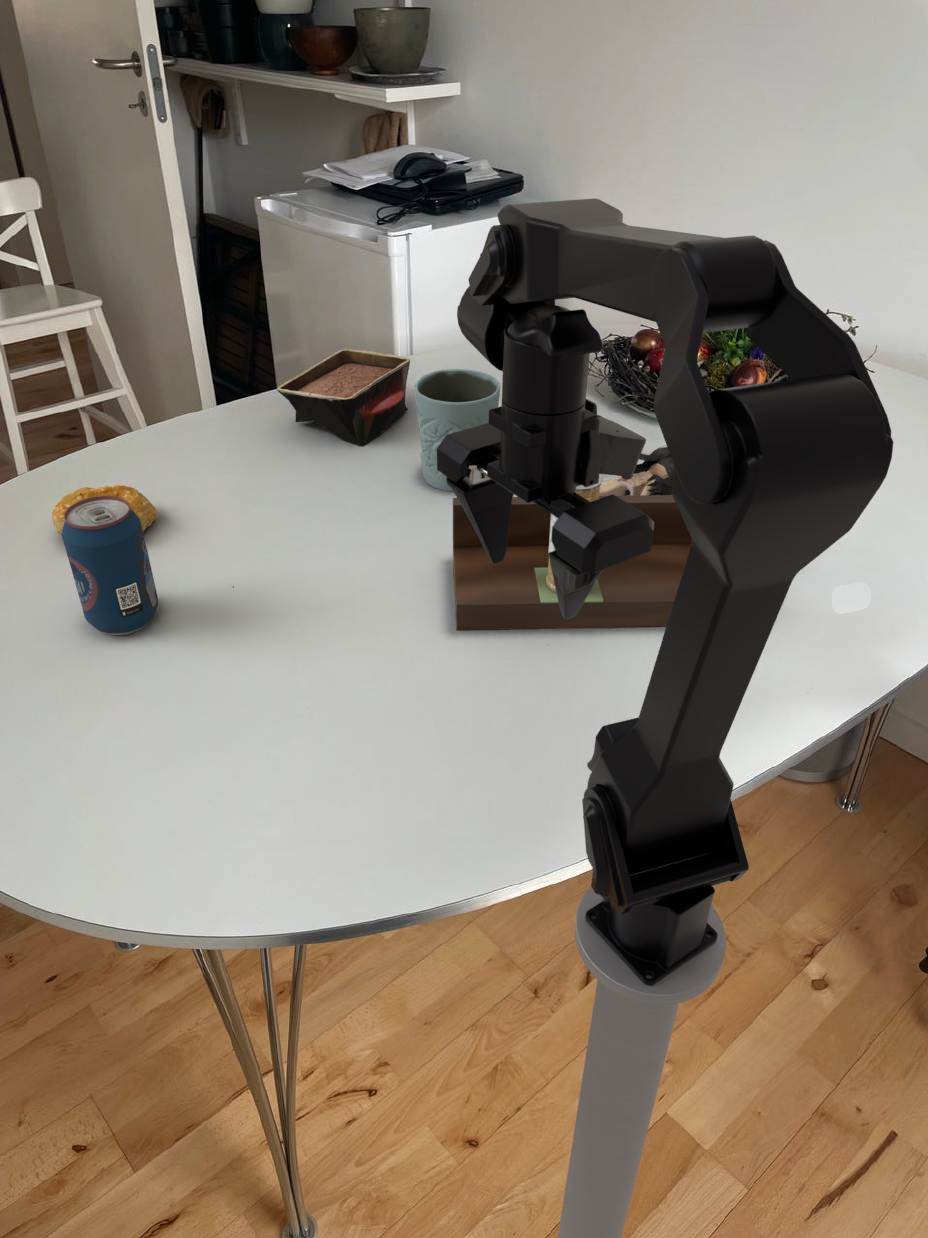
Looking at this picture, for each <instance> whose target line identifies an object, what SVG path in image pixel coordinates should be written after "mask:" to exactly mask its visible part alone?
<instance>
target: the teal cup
mask: <svg viewBox="0 0 928 1238" xmlns="http://www.w3.org/2000/svg"><path fill="white" fill-rule="evenodd" d="M414 395H415V402H416V403H415V404H416V411H417V423H418V426H419V429H420V430H419V440H420V447H421V452H420V458H421V459H420V461H421V462H420V463H421V472H422V477H423V480H424V482H426V483H427V484H428V485H429V486H430V487H432V488H434V489H437V490H440V491H445V492H453V493H454V491H453V490H452V488H451V487H450V486H448V485H447V481H446V479H447V476H445V475H444V474H442V473H441V472H439V471H438V470H437V447H438V446H439V445H440V443H441V442H442V440H443V439H444V438H445V436H446V435H448V434H451V433H455V432H458V431H462V430H465V429H469V428H472V427H476V426H479V425H483V424H487V423H489V410H490V409H494V408H497V407H499V404H500V395H501V384H500V381H499V380H498V379H497V378H495V376H493V375H491V374H488V373H485V372H483V371H479V370H475V369H468V368H447V369H440V370H435V371H432V372H429V373H427V374H424V375H422V376H420V377H419V378H418V380H416V381H415V383H414Z"/></svg>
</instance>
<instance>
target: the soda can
mask: <svg viewBox="0 0 928 1238" xmlns="http://www.w3.org/2000/svg"><path fill="white" fill-rule="evenodd" d="M64 519H65V522H64V525H63V529H62V534H61V538H62V542H63V544H64V548H65V552H66V555H67V558H68V563H69V567H70V569H71V573H72V576H73V580H74V584H75V588H76V591H77V594H78V599H79V601H80V605H81V608H82V612H83V616H84V619H85V620H86V621H87V622H88V624H89V625H90V626H92V627H93V628H95V629H96V630H97V631H99V632H100V633H102V634H104V635H110V636H124V635H129V634H133V633H136V632H139V631H140V630H142V629H145V628H146V627H147V626H149V624H151V622H152V621H153V619H154V617H155V615H156V613H157V611H158V607H159V604H160V603H159V602H160V601H159V600H160V599H159V596H158V591H157V588H156V583H155V579H154V575H153V569H152V565H151V561H150V555H149V551H148V546H147V543H146V539H145V534H144V532H143V529H142V525H141V521H140V518H139V517H138V516H137V515H136V514H135V512H134V511H133V510H132V509H131V507H130V504H129V503H128V502H127V501H126V500H125V499H122V498H119V497H115V496H98V497H92V498H88V499H84V500H82V501H79V502H77V503H75V504H73V505H72V506H70V507H69V508H68V509H67V510H66V512H65V513H64Z"/></svg>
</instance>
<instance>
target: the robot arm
mask: <svg viewBox="0 0 928 1238" xmlns="http://www.w3.org/2000/svg"><path fill="white" fill-rule="evenodd" d="M497 219H498V223H499V224H495V225H492V226H491V227H490V228H489V231H488V233H487V236H486V239H485V242H484V245H483V249H482V251H481V253H480V255H479V258H478V259H477V261H476V263H475V265H474V267H473V269H472V271H471V273H470V274H469V277H468V285H469V286H468V287H467V288H466V289H465V291H464V293H463V295H462V296H461V299H460V301H459V305H458V306H457V309H456V310H457V311H456V317H457V318H456V319H457V325H458V328H459V329H460V332H461V334H462V335H463V337H464V338H465V339H466V340H467V341H468V342H469V343H470V344H471V346H473V347H474V348H475V349H476V350H477V351H478V352H479V354H480V355H482V357H484V358H485V359H486V361H487V362H488V363H489V364H490V365H492V366H493V367H494V368H495V369H497V370H498V371H500V372H502V379H501V380H502V381H501V385H502V386H501V406H498V407H497V408H494V409H490V410H489V423H487V424H483V425H479V426H476V427H472V428H469V429H465V430H462V431H458V432H455V433H451V434H448V435H446V436H445V438H444V439H443V440H442V442H441V443H440V445H439V446H438V447H437V470H438V471H439V472H441V473H442V474H444V475H445V476H447V479H446V481H447V485H448V486H450V487H451V488H452V490H453V491H454V492H453V491H452V492H453V493H454V495H455V498H457V499H458V500H459V502H460V504H461V506H462V507H463V509H464V511H465V513H466V514H467V516H468V518H469V520H470V522H471V524H472V526H473V527H474V529H475V531H476V533H477V535H478V537H479V539H480V541H481V543H482V545H483V547H484V549H485V551H486V553H487V555H488V557H489V559H490V561H491V562H492V563H494V564H495V563H498V562H501V561H503V560H504V557H505V552H506V547H507V541H508V532H509V522H510V513H511V504H512V497H514V496H515V497H519V498H520V499H522V500H523V501H525V502H527V503H530V502H534V503H536V504H537V505H539V506H540V507H542V508H543V509H545V510H546V511H548V512H549V513H551V514H552V515H554V516H555V517H557V518H558V520H557V521H556V523H555V524H554V525H553V527H552V537H551V541H552V543H553V545H554V548H555V551H552V552H549V559H550V564H551V569H552V574H553V578H554V583H555V588H556V593H557V598H558V603H559V607H560V610H561V613H562V616H563V618H565V619H569V618H572V617H574V616H576V615H577V613H578V612H579V610H580V608H581V606H582V605H583V603H584V601H585V599H586V598H587V596H588V594H589V592H590V590H591V589H592V587H593V585H594V583H595V582H596V580H597V578H598V577H599V575H600V574H601V572H602V571H603V570H605V569H607V568H610V567H612V566H615V565H617V564H620V563H622V562H625V561H628V560H630V559H633V558H635V557H638V556H640V555H643V554H645V553H648V552H650V551H651V546H652V539H653V533H654V521H653V520H652V519H651V518H650V517H649V516H648V515H647V514H645V513H643V512H642V511H640V510H638V509H637V508H635V507H633V506H632V505H630V504H628V503H627V502H625V501H623V500H622V499H620V498H618V497H617V496H615V495H613V494H612V495H609V496H606V497H603V498H600V499H598V500H595V501H592V502H589V501H588V500H586V499H585V498H583V497H581V496H580V495H578V494H577V493H575V491H576V487H577V486H580V485H583V486H584V487H588V486H591V485H594V484H597V483H598V482H599V474H603V475H605V476H606V475H607V476H615V477H622V478H623V479H631V478H632V476H633V473H634V471H635V468H636V465H637V464H639V463H638V462H639V460H640V459H639V458H640V455H641V453H643V450H644V447H645V445H646V442H647V438H645V437H644V436H642V435H641V434H639V433H636V432H635V431H634V430H631V429H629V428H627V427H625V426H623V425H621V424H620V423H618V422H615V421H614V420H610V419H608V418H606V417H604V416H602V415H600V414H598V405H597V404H596V402H594V401H592V400H590V399H588V398H587V391H588V390H587V388H588V378H589V377H588V376H589V368H590V367H589V366H590V357H591V354H595V353H600V352H602V350H603V348H604V345H603V344H604V343H603V340H602V337H601V335H600V333H599V331H598V330H597V329H596V328H595V327H594V326H593V324H592V323H591V322H590V320H589V318H588V315H587V311H586V310H585V309H584V308H583V309H572V310H570V309H569V308H567V307H564V306H561V305H557V304H556V300H566V299H578V300H580V301H584V302H587V303H591V304H594V305H598V306H601V307H604V308H607V309H610V310H614V311H617V312H621V313H624V314H627V315H631V316H634V317H637V318H640V319H644V320H647V321H650V322H653V323H656V325H657V328H658V331H659V333H660V336H661V338H662V341H663V344H664V352H663V357H662V361H661V366H660V370H659V376H658V380H657V384H656V388H655V393H654V398H653V403H652V404H653V412H654V414H655V417H656V420H657V422H658V425H659V428H660V431H661V433H662V436H663V439H664V443H665V445H667V446H666V447H667V448H668V450H669V453H670V456H671V459H672V461H673V464H674V467H675V474H674V481H673V487H672V495H673V498H674V500H675V503H676V505H677V507H678V509H679V511H680V513H681V516H682V518H683V520H684V522H685V524H686V526H687V529H688V531H689V533H690V535H691V538H692V541H691V547H690V551H689V554H688V557H687V561H686V564H685V567H684V570H683V574H682V577H681V580H680V584H679V587H678V590H677V593H676V597H675V600H674V603H673V606H672V610H671V613H670V616H669V620H668V623H667V626H665V629H664V632H663V637H662V640H661V642H660V646H659V648H658V649H659V650H658V653H657V656H656V660H655V662H654V665H653V669H652V672H651V676H650V679H649V681H648V685H647V689H646V692H645V695H644V698H643V702H642V705H641V709H640V712H639V715H638V717H635V718H629V719H627V720H626V719H625V720H622V721H618V722H613V723H608V724H605V725H603V726H601V728H599V731H598V733H596V735H595V741H594V749H593V755H592V757H591V758H590V760H589V761H588V762H587V763H586V766H587V769H588V770H589V771H590V774H589V777H588V780H587V788H586V789H585V790H584V792H583V798H582V800H581V801H582V802H581V803H582V820H583V827H584V828H583V829H584V842H585V853H586V856H587V860H588V863H589V864H590V866H591V868H592V874H591V883H590V888H591V887H592V889H593V890H594V892H595V893H596V894H598V895H601V897H602V898H603V899H604V901H602V902H601V903H599V904H598V905H596V906H594V907H593V908H591V909H589V910H588V911H587V912H586V916H585V920H586V922H587V923H588V924H589V925H590V926H591V927H592V928H593V929H594V931H595V932H596V933H597V934H598V935H599V936H600V937H601V938H602V939H603V940H604V941H605V942H606V944H607V945H608V946H609V947H610V948H611V949H612V950H613V951H614V952H615V953H616V954H617V955H618V956H619V958H620V959H621V960H622V961H623V962H624V963H625V964H626V965H627V966H628V967H629V968H630V969H631V971H632V972H633V973H634V974H635V975H636V976H637V977H638V978H639V979H640V980H641V981H642V982H643V983H644V984H645V985H648V986H652V985H654V984H656V983H657V982H659V981H660V980H662V979H663V978H665V977H666V976H667V975H669V974H670V973H672V972H673V971H675V970H676V969H678V968H679V967H681V966H682V965H683V964H685V963H686V962H688V961H689V960H691V959H692V958H694V957H695V956H697V955H698V954H699V953H701V952H702V951H704V950H705V949H707V948H708V947H710V946H711V945H713V944H714V943H715V942H716V940H717V936H718V934H717V932H716V931H715V930H714V929H713V928H712V927H711V926H710V925H709V924H708V923H707V921H708V917H709V913H710V909H711V905H712V906H713V900H714V897H715V893H716V889H715V887H714V886H716V885H719V884H723V883H727V882H732V883H733V882H735V881H738V880H739V879H741V878H743V876H744V875H745V874H746V873H747V872H748V871H749V869H750V867H749V866H750V865H749V861H748V857H747V855H746V851H745V847H744V843H743V840H742V836H741V832H740V827H739V825H738V821H737V818H736V813H735V810H734V806H733V803H732V794H733V790H734V786H735V784H734V781H733V779H732V777H731V776H730V774H729V772H728V770H727V769H726V767H725V765H724V763H723V761H722V759H721V757H720V756H721V752H722V750H723V747H724V744H725V743H726V740H727V738H728V735H729V733H730V731H731V727H732V726H733V723H734V721H735V718H736V716H737V713H738V712H739V708H740V706H741V704H742V701H743V699H744V698H745V696H746V695H745V694H746V692H747V690H748V687H749V685H750V682H751V680H752V679H753V675H754V673H755V671H756V668H757V666H758V664H759V661H760V659H761V656H762V654H763V652H764V649H765V647H766V644H767V642H768V640H769V638H770V635H771V633H772V630H773V628H774V626H775V623H776V620H777V618H778V616H779V613H780V611H781V609H782V606H783V604H784V601H785V598H787V595H788V592H789V589H790V588H791V585H792V582H793V581H794V579H795V577H796V576H797V575H798V574H799V573H800V571H801V570H804V568H806V567H807V566H808V565H809V564H810V563H812V562H813V561H814V560H815V559H816V558H818V557H819V556H820V555H821V554H823V553H824V552H826V551H827V550H828V549H829V548H830V547H831V546H833V545H834V544H835V543H837V542H838V541H839V540H840V539H841V538H843V537H844V536H845V535H846V534H848V533H849V532H850V531H851V530H852V529H853V527H854V526H855V524H856V523H857V521H858V520H859V519H860V517H861V515H862V514H863V513H864V511H865V510H866V508H867V507H868V506H869V504H870V502H871V501H872V499H874V496H875V495H876V493H878V491H879V489H880V487H881V486H882V484H883V483H884V481H885V479H886V478H887V475H888V472H889V469H890V465H891V462H892V459H893V451H894V439H893V438H892V428H891V425H890V421H889V417H888V414H887V412H886V409H885V407H884V406H883V405H884V404H883V403H882V400H881V398H880V396H879V394H878V391H877V389H876V386H875V385H874V382H873V380H872V379H871V376H870V374H869V371H868V369H867V367H866V364H865V362H864V360H863V358H862V355H861V354H860V353H861V352H860V351H859V349H858V346H857V345H856V342H855V341H854V339H852V337H851V336H850V335H849V334H848V333H847V332H845V330H844V329H842V328H841V327H840V326H839V325H838V324H837V323H836V322H835V321H834V320H833V319H831V318H830V317H829V316H828V315H827V314H826V313H825V312H824V311H823V310H821V308H819V307H818V306H817V305H816V304H815V303H814V302H813V301H812V300H811V299H809V297H807V296H806V295H805V294H804V293H803V292H802V291H801V290H799V289H798V287H797V286H796V284H795V282H794V280H793V278H792V275H791V272H790V271H789V268H788V266H787V264H786V262H785V261H786V260H785V259H784V257H783V255H782V252H781V251H780V250H779V249H778V247H777V245H776V244H775V243H773V242H770V241H769V240H767V239H766V240H764V239H762V238H760V237H758V236H755V235H741V236H730V237H723V236H715V235H706V234H699V233H691V232H690V233H689V232H683V231H675V230H667V229H659V228H651V227H644V226H637V225H636V226H635V225H629V224H626V223H625V222H624V214H623V212H622V211H621V210H620V209H618V208H617V207H615V206H613V205H611V204H609V203H607V202H605V201H603V200H602V199H599V198H593V197H592V198H581V199H568V200H552V201H538V202H537V201H536V202H526V203H525V202H524V203H523V202H521V203H509V204H508V203H507V204H506V205H503V206H502V207H501V208H500V210H499V211H498V213H497ZM741 329H744V331H745V333H746V336H747V337H748V339H749V340H750V341H751V343H752V344H753V345H754V346H755V347H756V348H757V349H759V350H760V351H761V352H762V353H763V354H764V355H765V356H766V357H767V358H768V359H769V360H771V362H773V364H774V365H776V366H777V367H778V368H779V369H780V370H781V371H782V372H783V373H784V374H785V375H787V377H789V379H785V380H777V381H771V382H769V381H768V382H763V383H756V384H755V383H754V384H748V385H740V386H734V387H726V388H718V389H715V390H713V391H709V390H708V387H707V384H706V382H705V380H704V377H703V374H702V372H701V369H700V367H699V366H700V365H699V363H698V359H699V354H700V353H699V352H700V348H701V343H702V338H703V334H707V333H713V332H722V331H723V332H725V331H730V330H731V331H732V330H741ZM590 916H595V917H596V918H591V917H590ZM708 934H709V935H711V936H712V937H708V936H707V935H708ZM647 975H649V976H651V977H652V978H651V979H648V978H647V977H646V976H647Z"/></svg>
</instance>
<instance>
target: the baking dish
mask: <svg viewBox="0 0 928 1238" xmlns="http://www.w3.org/2000/svg"><path fill="white" fill-rule="evenodd" d="M410 363H411V359H410V358H409V357H404V356H400V355H394V354H390V353H385V352H384V353H383V352H380V351H371V350H365V349H364V350H361V349H354V348H341V349H339V350H338V351H336V352H335V353H333V354H331V355H330V356H328V357H326V358H324V359H322V361H320V362H318V363H316V364H315V365H313V366H311V367H309V368H308V369H305V370H304V371H302V372H301V373H299V374H297V375H295V376H294V377H292V378H291V379H289V380H288V381H285V382H284V383H282V384H281V385H279V386H278V387H277V388H276V391H277V392H278V393H279V394H280V395H282V396H283V397H284V398H285V399H286V400H287V401H288V402H289V403H290V405H291V406H292V407H293V409H294V410H295V419H294V421H295V422H294V423H307V422H313V423H315V424H317V426H319V427H321V428H323V429H325V430H326V431H328V432H329V433H330V434H333V435H334V436H336V437H337V438H339V439H340V440H341V441H344V442H346V443H349V444H352V445H355V446H359V447H360V448H361V447H365V446H366V445H369V443H372V441H374V440H375V439H376V438H378V437H379V436H381V435H382V434H383V433H385V431H387V429H389V428H390V427H391V426H393V425H394V424H395V423H397V421H399V419H401V418H402V417H403V416H404V415H405V414H406V413H407V412H408V410H409V408H408V407H407V403H406V393H407V381H408V376H409V370H410V365H411V364H410Z"/></svg>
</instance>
